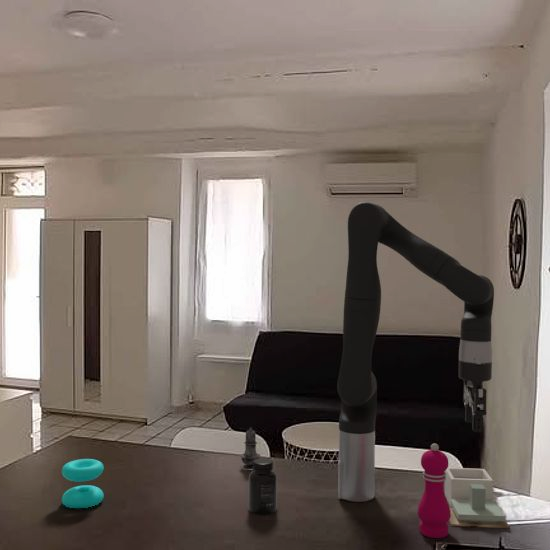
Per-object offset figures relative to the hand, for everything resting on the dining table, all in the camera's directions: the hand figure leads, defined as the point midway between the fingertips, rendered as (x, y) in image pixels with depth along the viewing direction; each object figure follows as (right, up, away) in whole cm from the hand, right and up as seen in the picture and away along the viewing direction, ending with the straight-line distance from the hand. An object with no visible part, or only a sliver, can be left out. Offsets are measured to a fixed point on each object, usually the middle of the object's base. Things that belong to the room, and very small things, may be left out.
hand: (473, 427), depth 155 cm
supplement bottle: (-50, -21, +3) cm, 55 cm away
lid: (0, -21, -1) cm, 21 cm away
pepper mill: (-12, -22, -9) cm, 26 cm away
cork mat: (0, -21, -1) cm, 21 cm away
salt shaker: (-55, -20, +35) cm, 68 cm away
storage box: (+1, -21, +10) cm, 23 cm away
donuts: (-95, -21, +7) cm, 98 cm away
